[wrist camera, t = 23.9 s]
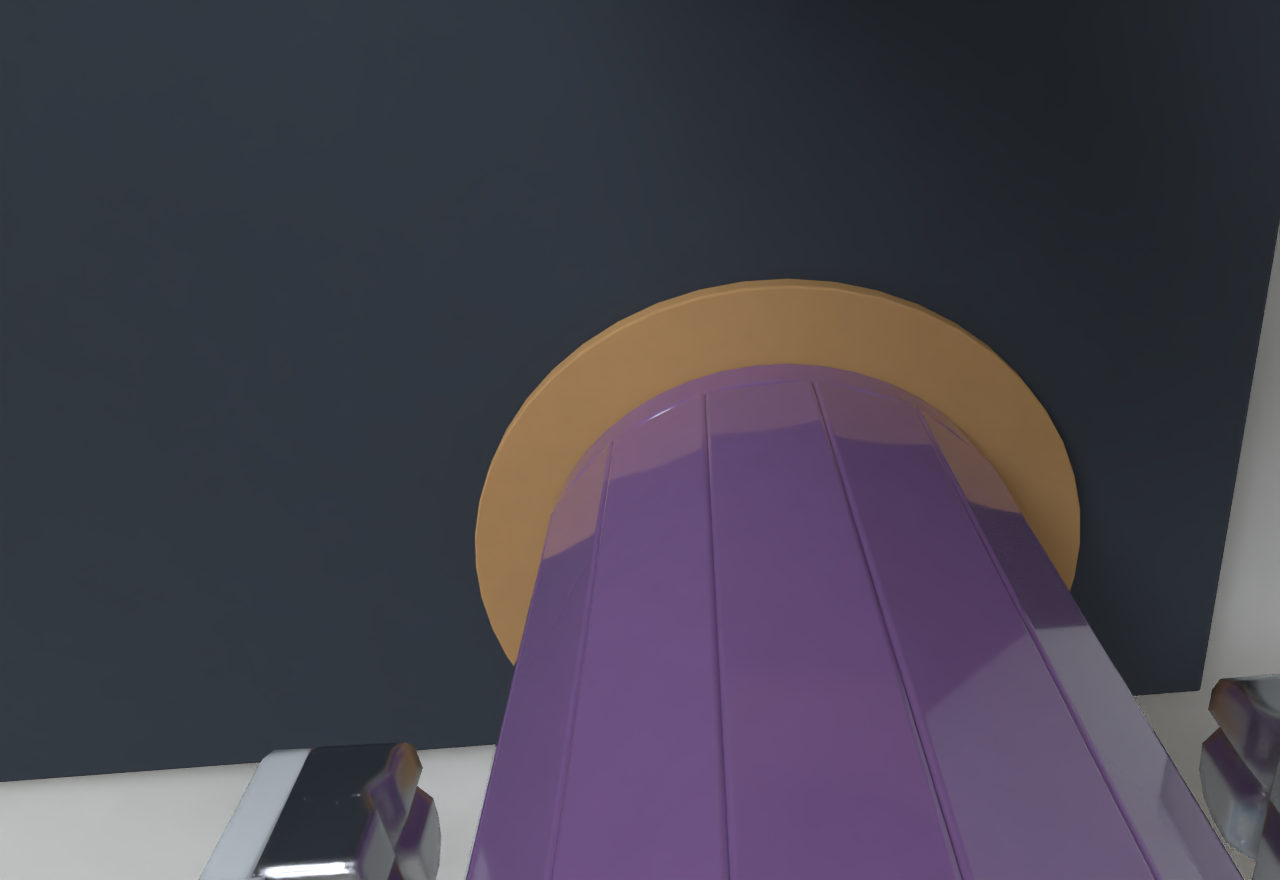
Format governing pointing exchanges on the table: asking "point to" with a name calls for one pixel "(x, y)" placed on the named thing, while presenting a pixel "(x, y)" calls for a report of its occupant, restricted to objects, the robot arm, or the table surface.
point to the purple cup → (815, 664)
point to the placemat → (574, 317)
